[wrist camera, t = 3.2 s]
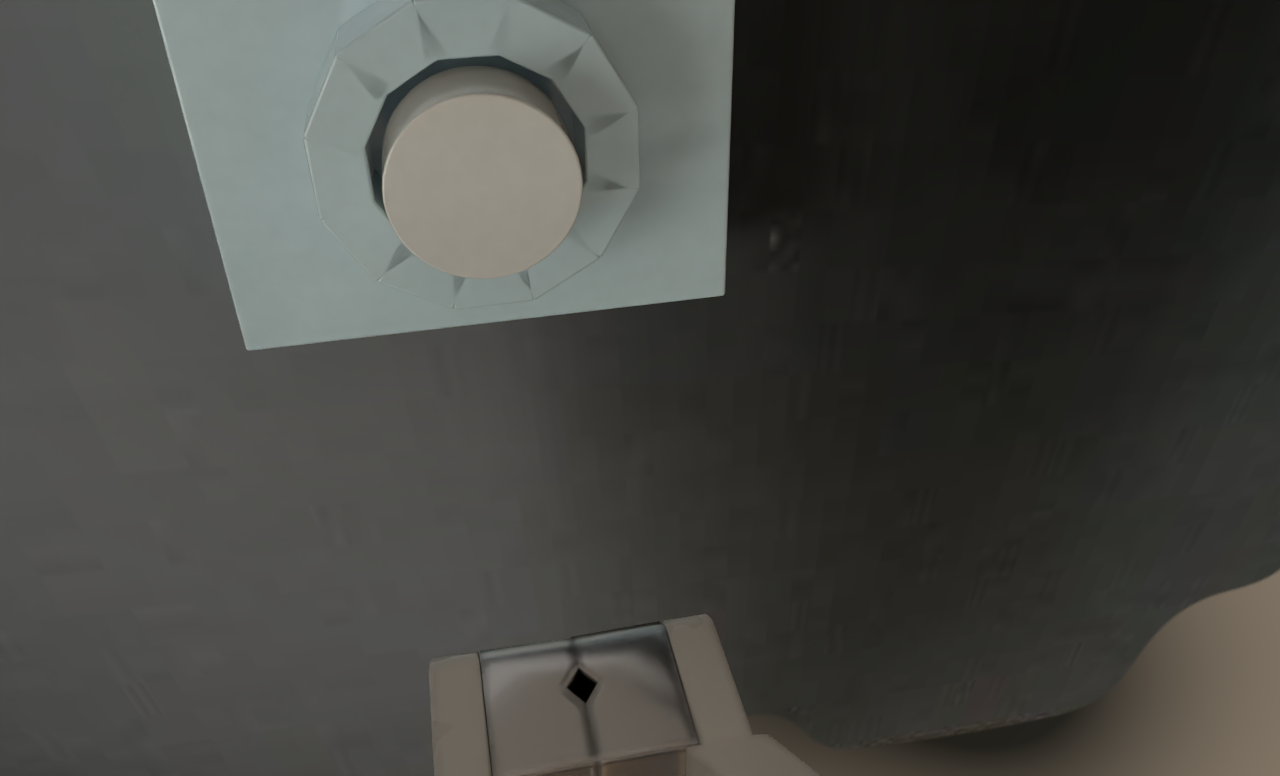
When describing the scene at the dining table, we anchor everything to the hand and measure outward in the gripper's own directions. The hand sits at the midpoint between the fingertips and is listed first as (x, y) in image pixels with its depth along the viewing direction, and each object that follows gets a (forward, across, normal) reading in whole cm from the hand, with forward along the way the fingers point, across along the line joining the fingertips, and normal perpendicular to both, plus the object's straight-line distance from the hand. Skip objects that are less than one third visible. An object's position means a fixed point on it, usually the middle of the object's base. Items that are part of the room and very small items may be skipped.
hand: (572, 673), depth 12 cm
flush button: (+14, 0, 0) cm, 14 cm away
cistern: (+19, 0, 0) cm, 19 cm away
